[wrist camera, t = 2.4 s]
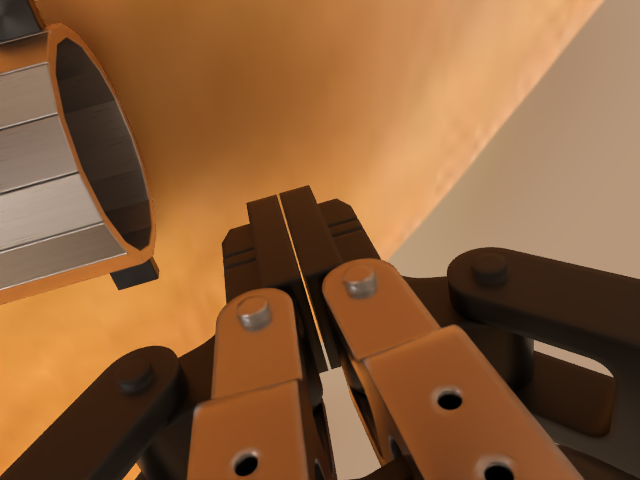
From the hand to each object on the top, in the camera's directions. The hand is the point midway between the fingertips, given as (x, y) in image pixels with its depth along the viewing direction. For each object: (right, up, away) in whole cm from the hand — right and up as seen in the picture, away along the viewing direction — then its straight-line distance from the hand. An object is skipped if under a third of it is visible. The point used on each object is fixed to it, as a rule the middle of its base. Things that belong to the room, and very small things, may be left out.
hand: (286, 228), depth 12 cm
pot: (-12, +4, +11) cm, 17 cm away
